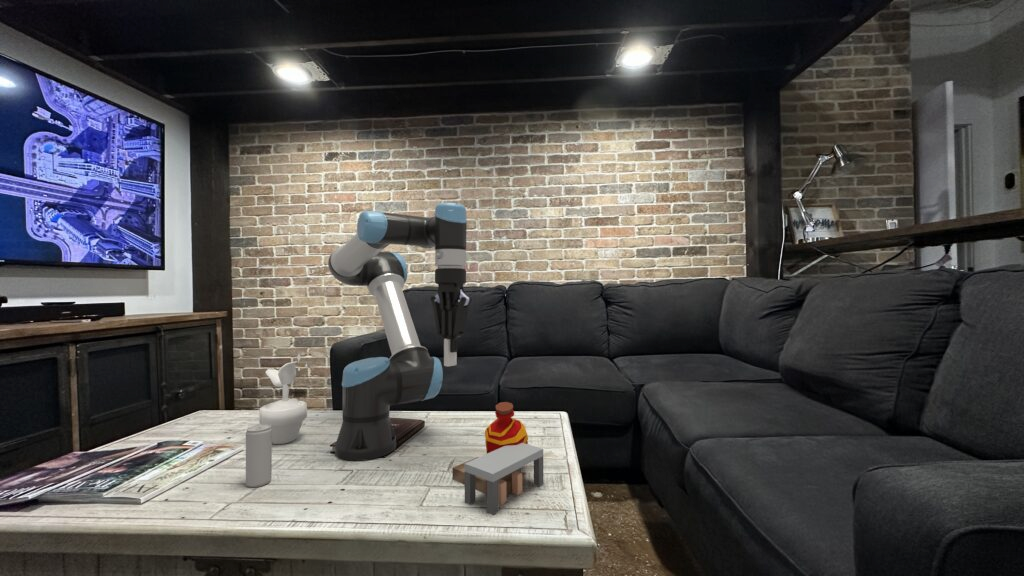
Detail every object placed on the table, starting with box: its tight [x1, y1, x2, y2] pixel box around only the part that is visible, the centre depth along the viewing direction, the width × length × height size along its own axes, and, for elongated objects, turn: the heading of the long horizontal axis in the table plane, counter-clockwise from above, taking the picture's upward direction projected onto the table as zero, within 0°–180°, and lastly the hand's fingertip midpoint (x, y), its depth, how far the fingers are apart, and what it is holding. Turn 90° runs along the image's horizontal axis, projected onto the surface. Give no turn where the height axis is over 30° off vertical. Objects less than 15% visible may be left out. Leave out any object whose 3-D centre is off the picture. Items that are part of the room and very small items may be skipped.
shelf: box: [464, 443, 545, 516], centre depth 85 cm, size 8×16×8 cm, turn 140°
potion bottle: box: [484, 401, 529, 454], centre depth 95 cm, size 10×10×15 cm
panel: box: [452, 456, 526, 497], centre depth 90 cm, size 14×8×3 cm, turn 49°
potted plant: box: [258, 353, 309, 445], centre depth 116 cm, size 13×12×25 cm
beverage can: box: [245, 423, 273, 488], centre depth 90 cm, size 5×5×12 cm
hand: (450, 365), depth 101 cm, fingers closed
